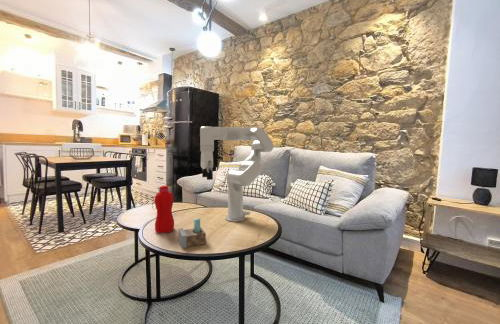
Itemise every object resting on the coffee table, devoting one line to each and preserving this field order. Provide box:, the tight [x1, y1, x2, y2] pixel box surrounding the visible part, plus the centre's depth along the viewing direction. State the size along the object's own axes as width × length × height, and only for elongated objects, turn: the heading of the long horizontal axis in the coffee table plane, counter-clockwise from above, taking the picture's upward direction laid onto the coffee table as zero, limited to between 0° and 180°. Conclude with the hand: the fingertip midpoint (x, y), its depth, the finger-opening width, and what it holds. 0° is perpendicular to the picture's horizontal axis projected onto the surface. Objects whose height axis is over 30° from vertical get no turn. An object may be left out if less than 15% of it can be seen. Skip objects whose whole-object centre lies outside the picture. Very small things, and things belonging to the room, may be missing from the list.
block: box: [183, 226, 207, 248], centre depth 114 cm, size 9×9×5 cm
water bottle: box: [151, 185, 175, 234], centre depth 128 cm, size 9×11×25 cm
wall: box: [177, 227, 188, 249], centre depth 112 cm, size 2×10×6 cm, turn 26°
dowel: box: [193, 217, 201, 233], centre depth 115 cm, size 3×3×10 cm
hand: (207, 178), depth 134 cm, fingers open, 9 cm apart
